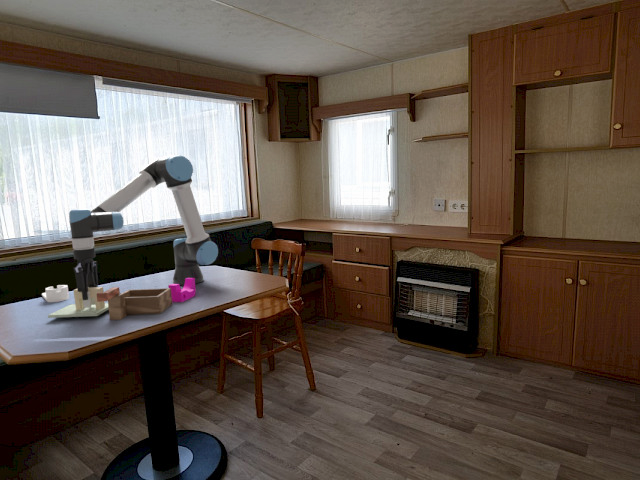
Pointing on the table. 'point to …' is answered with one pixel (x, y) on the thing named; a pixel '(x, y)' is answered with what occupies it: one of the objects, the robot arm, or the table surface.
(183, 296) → the toy block
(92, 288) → the lid
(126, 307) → the toolbox
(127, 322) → the table surface
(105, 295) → the wooden key
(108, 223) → the robot arm
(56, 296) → the bracket
